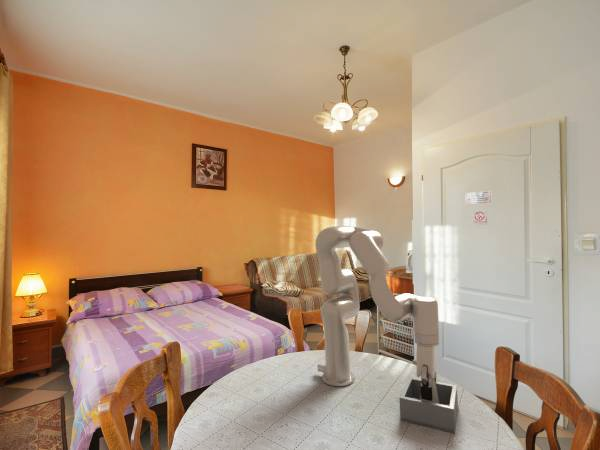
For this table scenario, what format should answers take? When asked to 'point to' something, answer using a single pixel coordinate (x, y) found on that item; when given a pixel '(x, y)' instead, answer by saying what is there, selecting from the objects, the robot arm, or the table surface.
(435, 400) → the salt shaker
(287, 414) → the table surface
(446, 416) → the bin
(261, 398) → the table surface
